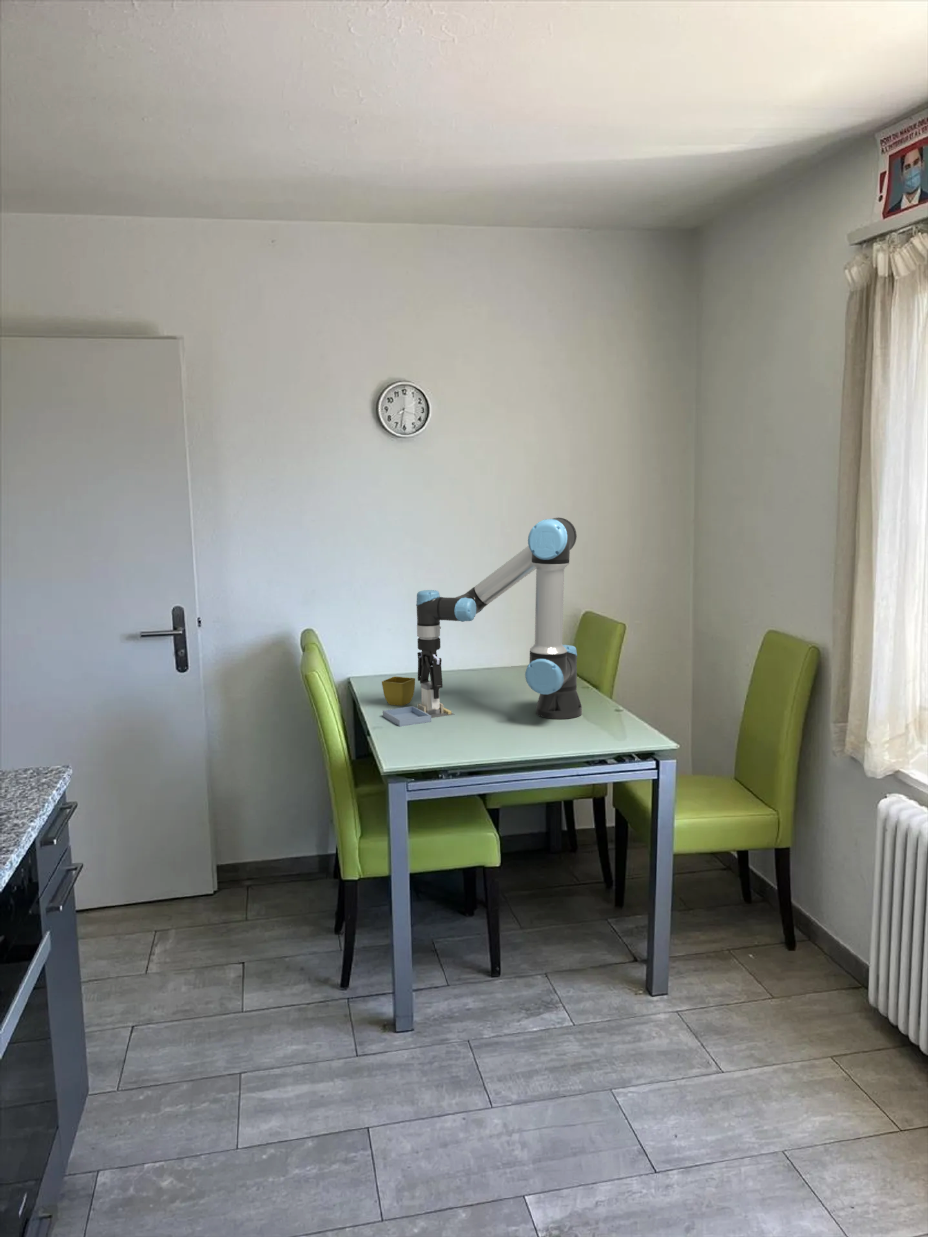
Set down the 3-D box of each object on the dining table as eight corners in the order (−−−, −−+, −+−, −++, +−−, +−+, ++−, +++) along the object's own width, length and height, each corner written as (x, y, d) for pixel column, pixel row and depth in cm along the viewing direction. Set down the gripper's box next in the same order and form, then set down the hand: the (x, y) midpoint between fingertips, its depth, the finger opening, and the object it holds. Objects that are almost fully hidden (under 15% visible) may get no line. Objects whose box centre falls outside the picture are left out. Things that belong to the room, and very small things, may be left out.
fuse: (439, 713, 302) (439, 683, 300) (427, 715, 300) (426, 685, 298) (433, 710, 306) (433, 681, 304) (421, 712, 304) (420, 682, 302)
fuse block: (454, 715, 300) (454, 705, 300) (427, 720, 296) (427, 709, 295) (439, 707, 311) (438, 697, 310) (412, 711, 306) (412, 701, 306)
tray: (431, 723, 292) (431, 715, 291) (399, 728, 287) (399, 720, 287) (413, 713, 304) (413, 706, 304) (382, 717, 299) (382, 710, 299)
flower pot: (381, 706, 314) (380, 681, 313) (395, 700, 322) (394, 675, 320) (403, 709, 310) (402, 683, 309) (416, 703, 318) (416, 678, 316)
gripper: (452, 640, 292) (453, 710, 295) (426, 631, 309) (428, 697, 313) (431, 643, 288) (433, 713, 292) (406, 634, 306) (408, 700, 309)
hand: (430, 705), depth 302 cm, fingers open, 7 cm apart
